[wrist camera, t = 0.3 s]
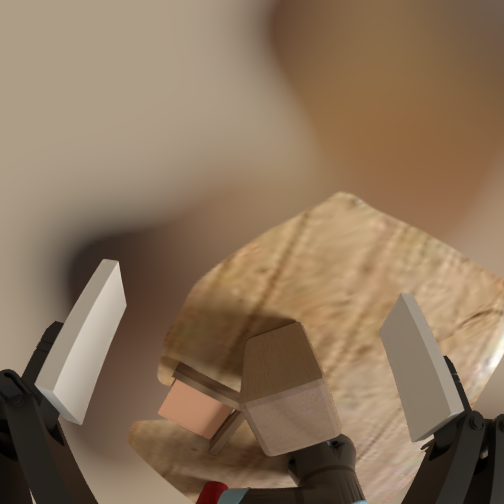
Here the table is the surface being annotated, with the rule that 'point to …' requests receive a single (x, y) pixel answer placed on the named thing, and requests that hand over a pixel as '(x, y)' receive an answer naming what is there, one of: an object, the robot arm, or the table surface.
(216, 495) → the plastic cup
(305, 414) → the block
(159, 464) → the table surface
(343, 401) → the table surface
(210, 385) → the arena
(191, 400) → the tile
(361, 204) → the table surface
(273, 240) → the table surface
